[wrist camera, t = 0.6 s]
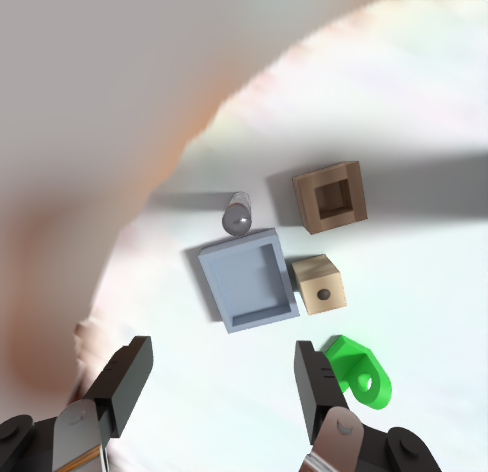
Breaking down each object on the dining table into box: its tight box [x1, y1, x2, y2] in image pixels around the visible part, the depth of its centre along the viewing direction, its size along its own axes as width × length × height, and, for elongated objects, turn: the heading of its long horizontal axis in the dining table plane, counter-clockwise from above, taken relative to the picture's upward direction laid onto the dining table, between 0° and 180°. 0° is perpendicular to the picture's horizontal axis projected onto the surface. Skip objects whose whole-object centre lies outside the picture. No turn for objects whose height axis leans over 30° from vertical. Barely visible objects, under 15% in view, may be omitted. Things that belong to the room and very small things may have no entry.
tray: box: [198, 228, 300, 334], centre depth 34 cm, size 11×13×3 cm
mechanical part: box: [324, 335, 392, 410], centre depth 36 cm, size 12×6×8 cm, turn 150°
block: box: [292, 254, 347, 315], centre depth 32 cm, size 5×5×6 cm
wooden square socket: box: [292, 161, 368, 235], centre depth 30 cm, size 7×7×4 cm
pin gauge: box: [222, 192, 252, 236], centre depth 26 cm, size 3×3×12 cm
